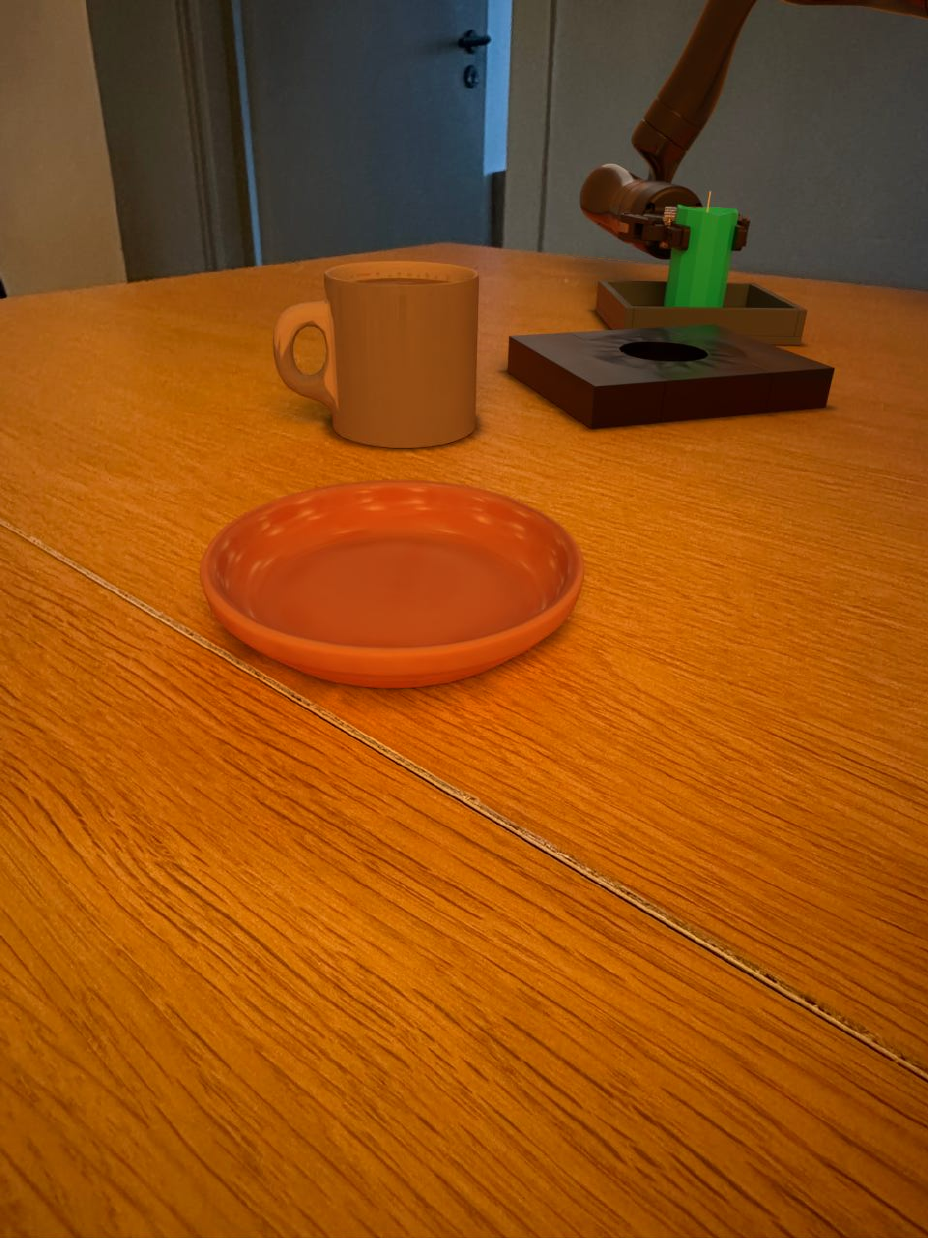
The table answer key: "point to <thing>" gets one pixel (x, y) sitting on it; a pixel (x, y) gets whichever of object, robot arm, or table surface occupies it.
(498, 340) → the table surface
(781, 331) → the brown open tray
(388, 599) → the saucer
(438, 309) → the coffee mug
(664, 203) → the robot arm
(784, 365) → the dark brown flat block
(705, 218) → the candle
